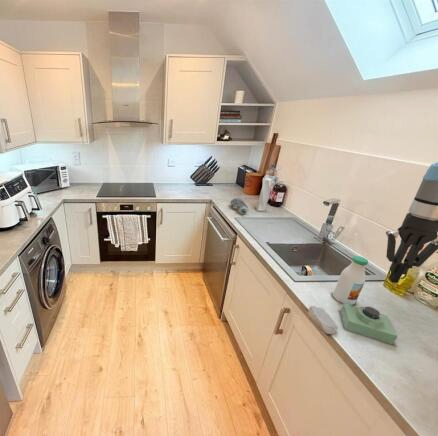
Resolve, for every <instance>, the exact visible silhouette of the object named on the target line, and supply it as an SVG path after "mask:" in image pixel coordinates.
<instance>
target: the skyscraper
mask: <svg viewBox="0 0 438 436" xmlns="http://www.w3.org/2000/svg"><path fill="white" fill-rule="evenodd" d="M273 181H274V179H273V178H270V177H269V175H268V174H267V175H265V176H264V177H263V178H262V187H261V190H260V193H259V199H258V201H257V205H256V207H255V211H256V212H262V213H266V207H267V205H268V202H269V200H270V199H269V198H270V194H271V186H272V184H273Z"/></svg>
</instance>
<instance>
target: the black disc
mask: <svg viewBox="0 0 438 436" xmlns="http://www.w3.org/2000/svg"><path fill="white" fill-rule="evenodd" d="M364 307H365V309H364V311H363V313H364V314H365V315H366V316H368V317H370V318H372V319H378V317H379V315H380V314H381V313H380V311H379V310H378V309H376V308H374V307H372V306H364Z"/></svg>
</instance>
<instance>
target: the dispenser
mask: <svg viewBox="0 0 438 436" xmlns="http://www.w3.org/2000/svg"><path fill="white" fill-rule="evenodd" d="M365 307H366V306H355V305H348V304H345V303H342V306H341V308H340V310H339V311H340V316H341V319H342V322H343V326H344V330H346V331H350V332H353V333H356V334H359V335H362V336H365V337H369V338H371V339H374V340H377V341H381V342H384V343H387V344H390V345H394V344H395V342H396V340H397V339H398V337H399V335H398V333H397V331H396V329H395V327H394V326H393V324H392V322H391V320H390V317H389V315H387V314H383V313H380V315H379V317H378V319H372V318H370V317H368V316H366V315H365V314H364V313H363V311H364V309H365Z"/></svg>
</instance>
